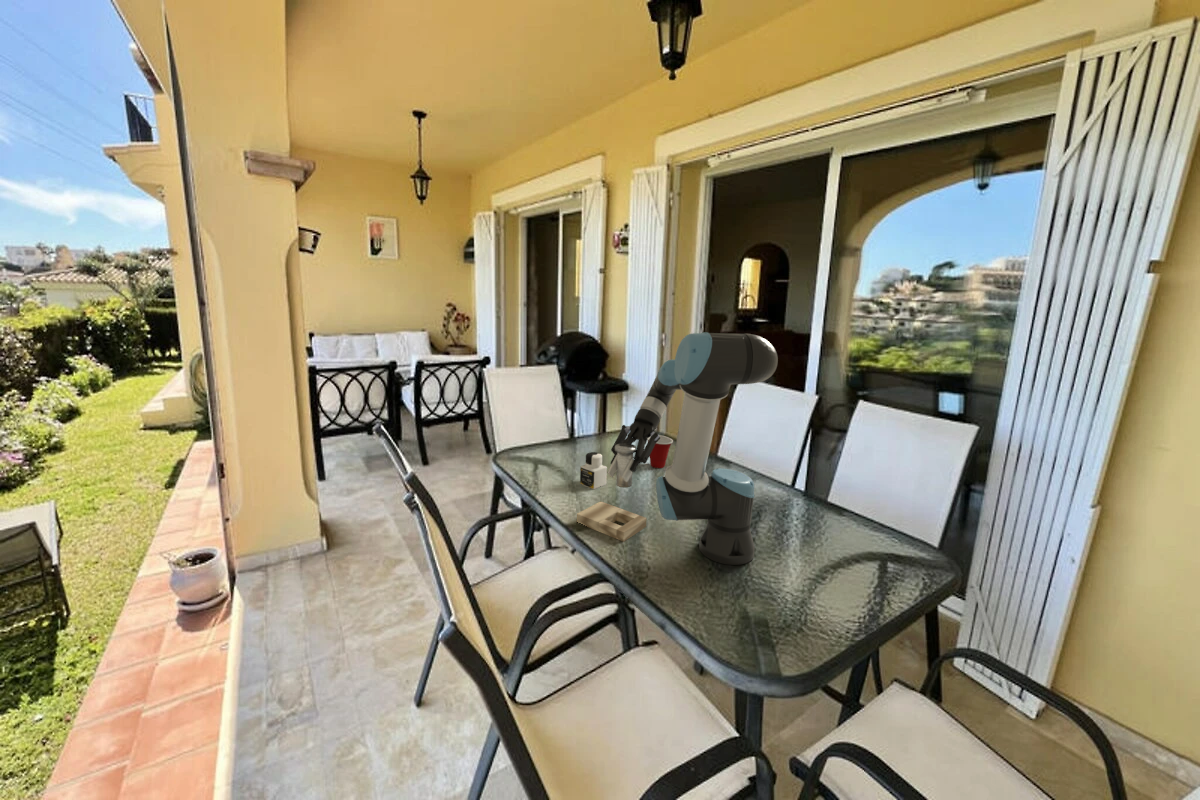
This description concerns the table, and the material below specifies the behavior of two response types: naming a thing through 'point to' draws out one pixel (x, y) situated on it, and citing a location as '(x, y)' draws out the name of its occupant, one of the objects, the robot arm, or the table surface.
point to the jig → (611, 520)
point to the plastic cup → (660, 452)
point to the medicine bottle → (593, 471)
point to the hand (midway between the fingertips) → (617, 477)
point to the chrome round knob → (624, 462)
